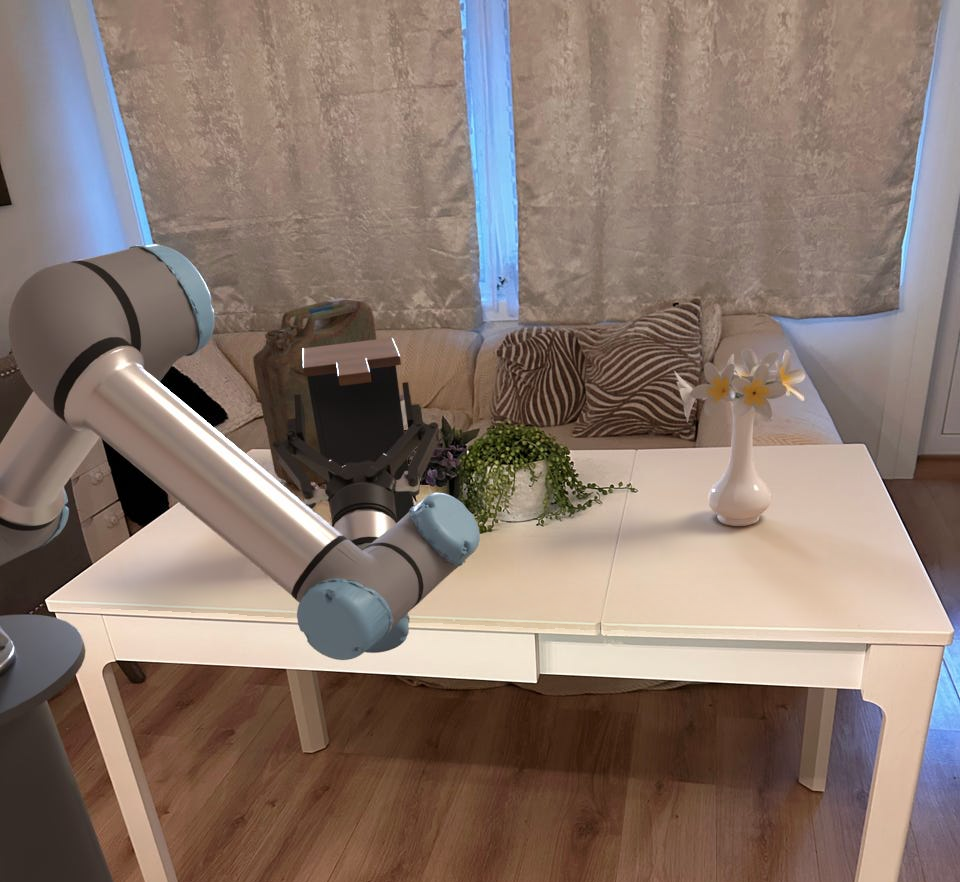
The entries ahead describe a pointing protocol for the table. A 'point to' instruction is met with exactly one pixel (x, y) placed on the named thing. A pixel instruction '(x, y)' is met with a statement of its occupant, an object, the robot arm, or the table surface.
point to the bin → (360, 421)
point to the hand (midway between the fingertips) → (352, 396)
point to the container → (284, 365)
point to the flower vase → (743, 426)
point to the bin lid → (350, 359)
